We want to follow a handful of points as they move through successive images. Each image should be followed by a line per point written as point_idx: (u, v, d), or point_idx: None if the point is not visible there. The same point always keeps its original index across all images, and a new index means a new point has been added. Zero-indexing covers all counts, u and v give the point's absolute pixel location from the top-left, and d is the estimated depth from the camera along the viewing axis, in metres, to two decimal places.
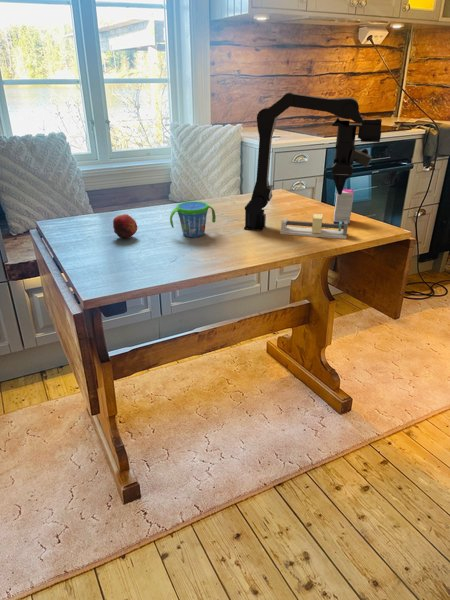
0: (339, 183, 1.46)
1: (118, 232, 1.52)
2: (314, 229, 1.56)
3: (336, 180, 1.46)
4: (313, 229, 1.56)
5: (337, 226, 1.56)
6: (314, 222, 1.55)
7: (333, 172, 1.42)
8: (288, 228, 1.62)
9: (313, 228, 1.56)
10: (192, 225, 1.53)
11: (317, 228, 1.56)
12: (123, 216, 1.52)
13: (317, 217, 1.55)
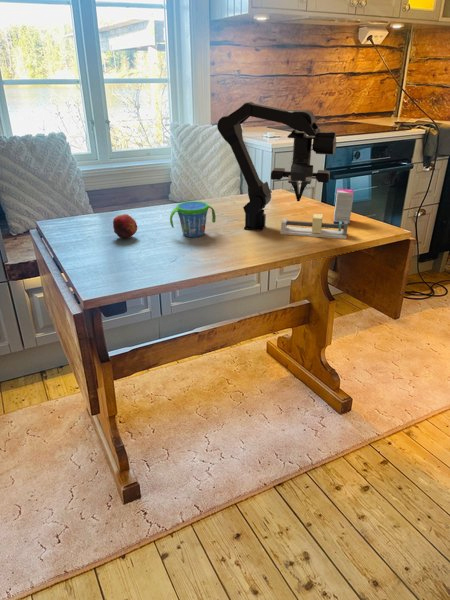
0: None
1: (118, 232, 1.52)
2: (314, 229, 1.56)
3: None
4: (313, 229, 1.56)
5: (337, 226, 1.56)
6: (314, 222, 1.55)
7: None
8: (288, 228, 1.62)
9: (313, 228, 1.56)
10: (192, 225, 1.53)
11: (317, 228, 1.56)
12: (123, 216, 1.52)
13: (317, 217, 1.55)
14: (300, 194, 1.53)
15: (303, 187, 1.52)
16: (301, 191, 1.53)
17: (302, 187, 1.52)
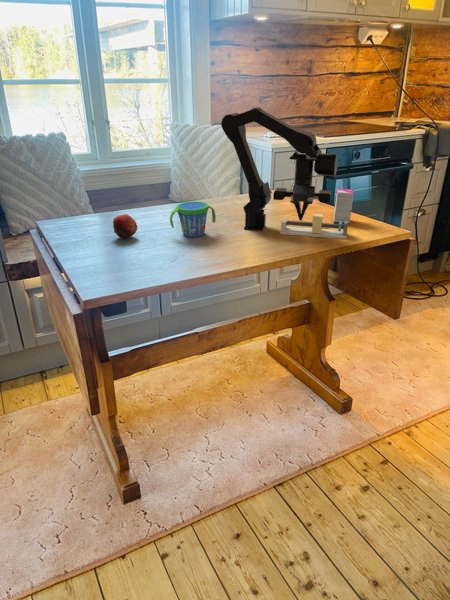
0: None
1: (118, 232, 1.52)
2: (314, 229, 1.56)
3: None
4: (313, 229, 1.56)
5: (337, 226, 1.56)
6: (314, 222, 1.55)
7: None
8: (288, 228, 1.62)
9: (313, 228, 1.56)
10: (192, 225, 1.53)
11: (317, 228, 1.56)
12: (123, 216, 1.52)
13: (317, 217, 1.55)
14: (302, 213, 1.56)
15: (305, 207, 1.54)
16: (303, 211, 1.55)
17: (304, 207, 1.55)
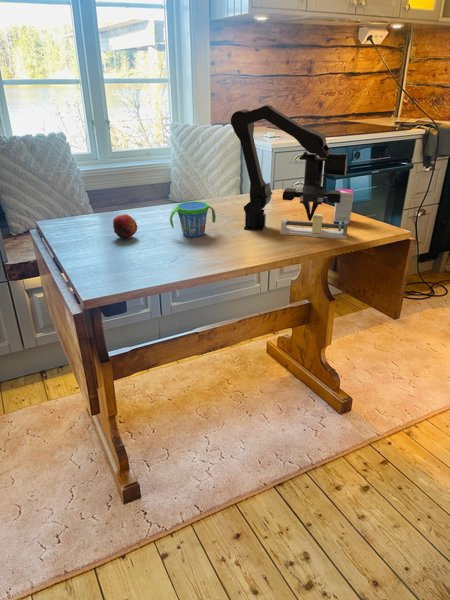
0: None
1: (118, 232, 1.52)
2: (315, 229, 1.56)
3: None
4: (313, 229, 1.56)
5: (337, 226, 1.56)
6: (314, 222, 1.55)
7: None
8: (288, 228, 1.62)
9: (313, 228, 1.56)
10: (192, 225, 1.53)
11: (317, 228, 1.56)
12: (123, 216, 1.52)
13: (317, 217, 1.55)
14: (311, 214, 1.55)
15: (314, 207, 1.54)
16: (312, 211, 1.55)
17: (313, 207, 1.54)
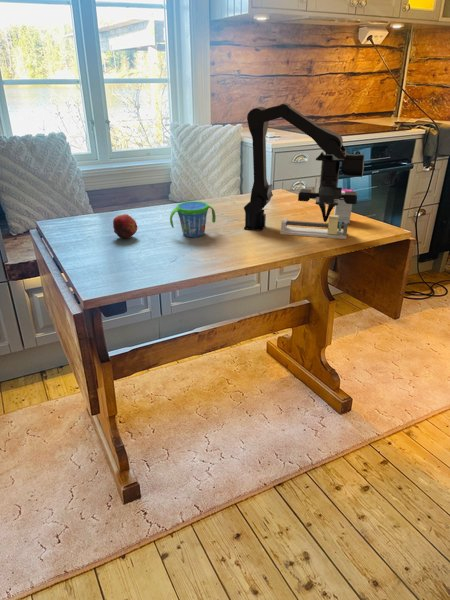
0: None
1: (118, 232, 1.52)
2: (330, 230, 1.55)
3: None
4: (329, 230, 1.55)
5: (337, 226, 1.56)
6: (330, 223, 1.54)
7: None
8: (288, 228, 1.62)
9: (329, 229, 1.55)
10: (192, 225, 1.53)
11: (333, 229, 1.55)
12: (123, 216, 1.52)
13: (333, 218, 1.54)
14: (327, 215, 1.54)
15: (330, 208, 1.53)
16: (328, 212, 1.54)
17: (329, 208, 1.53)
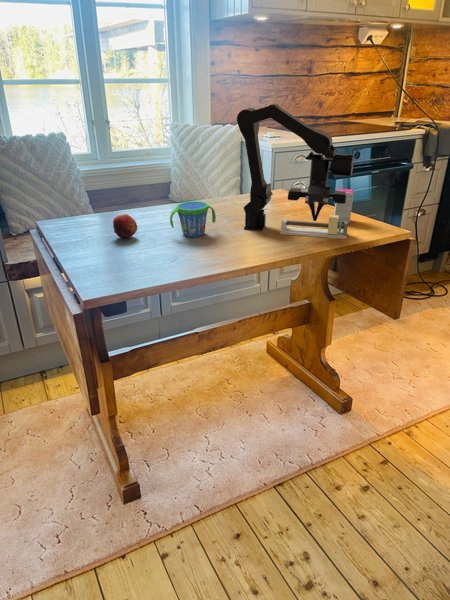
0: None
1: (118, 232, 1.52)
2: (330, 230, 1.55)
3: None
4: (329, 230, 1.55)
5: None
6: (330, 223, 1.54)
7: None
8: (288, 228, 1.62)
9: (329, 229, 1.55)
10: (192, 225, 1.53)
11: (333, 229, 1.55)
12: (123, 216, 1.52)
13: (333, 218, 1.54)
14: (316, 214, 1.55)
15: (320, 207, 1.53)
16: (318, 211, 1.54)
17: (319, 207, 1.53)
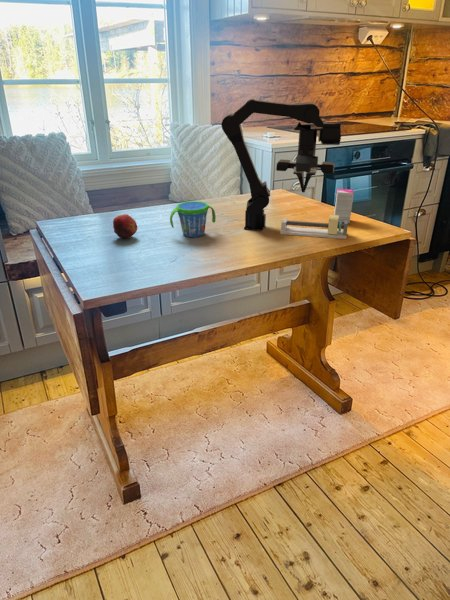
0: None
1: (118, 232, 1.52)
2: (330, 230, 1.55)
3: None
4: (329, 230, 1.55)
5: None
6: (330, 223, 1.54)
7: None
8: (288, 228, 1.62)
9: (329, 229, 1.55)
10: (192, 225, 1.53)
11: (333, 229, 1.55)
12: (123, 216, 1.52)
13: (333, 218, 1.54)
14: (305, 185, 1.56)
15: (308, 178, 1.55)
16: (306, 182, 1.56)
17: (307, 178, 1.55)
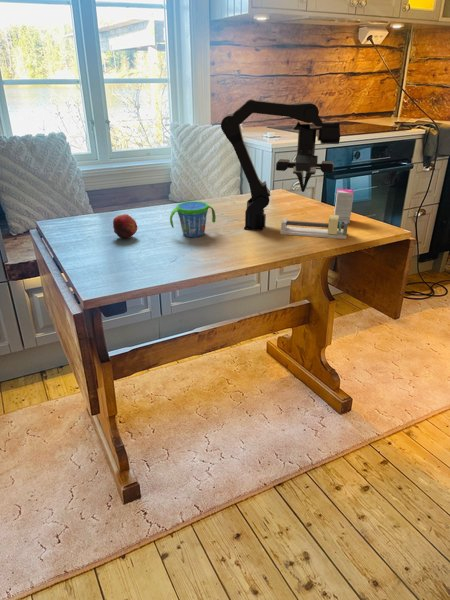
0: None
1: (118, 232, 1.52)
2: (330, 230, 1.55)
3: None
4: (329, 230, 1.55)
5: None
6: (330, 223, 1.54)
7: None
8: (288, 228, 1.62)
9: (329, 229, 1.55)
10: (192, 225, 1.53)
11: (333, 229, 1.55)
12: (123, 216, 1.52)
13: (333, 218, 1.54)
14: (305, 185, 1.57)
15: (308, 178, 1.55)
16: (306, 182, 1.56)
17: (307, 178, 1.55)
